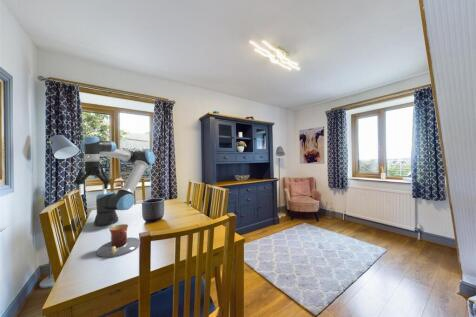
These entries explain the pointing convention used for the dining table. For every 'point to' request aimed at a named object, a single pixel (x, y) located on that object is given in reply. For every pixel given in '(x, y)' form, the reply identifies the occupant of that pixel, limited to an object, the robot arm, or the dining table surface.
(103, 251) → the seat disc
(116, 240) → the mug
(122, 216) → the dining table surface
